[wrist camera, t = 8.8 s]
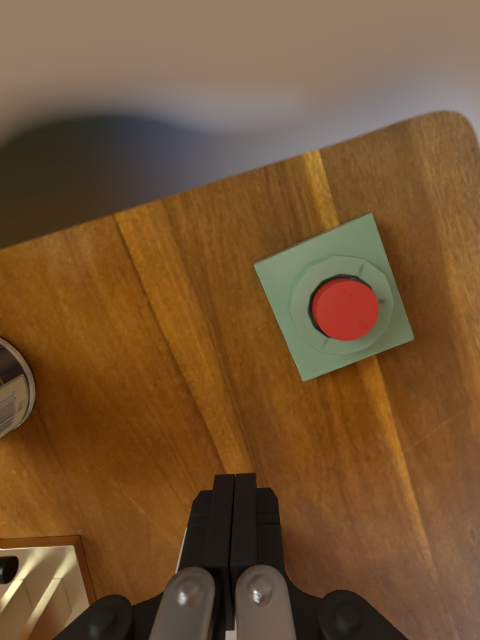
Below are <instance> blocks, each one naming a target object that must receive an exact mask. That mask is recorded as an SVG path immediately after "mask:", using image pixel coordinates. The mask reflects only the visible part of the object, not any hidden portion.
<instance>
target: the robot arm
mask: <svg viewBox="0 0 480 640" xmlns="http://www.w3.org/2000/svg"><path fill="white" fill-rule="evenodd" d="M235 616H236V632H237V640H408V639H407V638H406V637H405V636H404V635H403V634H402V633H401V632H400V631H398V630H397V629H396V628H395V627H394V626H393V625H392V624H391V623H390V622H389V621H388V620H386V619H385V618H384V617H383V616H382V615H381V614H380V613H379V612H378V611H377V610H376V609H375V608H373V607H372V606H371V605H370V604H369V603H368V602H367V601H366V600H365V599H363V598H362V597H361V596H359V595H358V594H356V593H354V592H351V591H348V590H335V591H332V592H330V593H328V594H327V595H326V596H325V597H324V598H323V599H321V598H318V597H315V596H312V595H309V594H307V593H304V592H303V591H301V590H299V589H298V588H297V587H296V586H295V585H294V584H293V583H292V582H291V581H290V579H289V578H288V576H287V574H286V571H285V566H284V556H283V547H282V537H281V527H280V517H279V507H278V498H277V497H276V495H275V493H274V492H273V490H272V489H271V488H257V483H256V473H241V474H236V477H235V474H221V475H215V478H214V485H213V490H206V491H200V493H199V494H198V496H197V497H196V498H195V500H194V501H193V504H192V508H191V513H190V517H189V522H188V528H187V531H186V535H185V540H184V544H183V549H182V553H181V557H180V562H179V566H178V570H177V573H176V574H175V575H174V576H173V577H172V578H171V579H170V580H169V582H168V583H167V585H166V587H165V590H164V591H163V592H162V593H161V594H159V595H157V596H156V597H154V598H151V599H149V600H146V601H144V602H141V603H138V604H136V605H133V606H131V604H130V602H129V600H128V599H127V598H125V597H124V596H121V595H108V596H105V597H103V598H101V599H99V600H97V601H96V602H94V603H93V604H92V605H90V606H89V607H88V608H87V609H86V610H85V611H84V612H83V613H81V614H80V615H79V616H78V617H77V618H76V619H75V620H74V621H72V622H71V623H70V624H69V625H68V626H67V627H66V628H64V629H63V630H62V631H61V632H60V633H59V634H58V635H57V636H55V637H54V638H53V639H52V640H225V637H226V631H235Z"/></svg>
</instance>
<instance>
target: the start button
mask: <svg viewBox="0 0 480 640" xmlns="http://www.w3.org/2000/svg"><path fill="white" fill-rule="evenodd" d="M378 312H379V306H378V301H377V298H376V296H375V294H374V293H373V291H372V290H371V289H370V288H369V287H367V286H366V285H364V284H362V283H360V282H357V281H355V280H352V279H348V278H337V279H333V280H331V281H329V282H327V283H325V284H324V285H323V286H321V287H320V289H319V290H318V291H317V293H316V294H315V296H314V299H313V303H312V313H313V317H314V319H315V321H316V323H317V324H318V325H319V327H320V328H321V329H322V330H323V331H324V333H326V334H327V335H328V336H330V337H331V338H333V339H336V340H340V341H351V340H355V339H358V338H360V337H362V336H364V335H365V334H366V333H368V332H369V331H370V330H371V328H372V327H373V326H374V324H375V322H376V320H377V317H378Z"/></svg>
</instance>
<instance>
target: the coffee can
mask: <svg viewBox="0 0 480 640" xmlns="http://www.w3.org/2000/svg"><path fill="white" fill-rule="evenodd" d="M34 401H35V383H34V378H33V375H32V372H31V370H30V368H29V366H28V365H27V363H26V361H25V359H24V358H23V357H22V355H21V354H20V353H19V352H18V351H17V350H16V349H15V348H14V347H13V346H12V345H11V344H10V343H8V342H7V341H5V340H4V339H2V338H1V337H0V439H2V438H3V437H4V436H5V435H7V434H8V433H9V432H10V431H12V430H13V429H15V428H17V427H18V426H20V425H21V424H22V423H23V422H24V421H25V420H26V419H27V417H28V416H29V414H30V413H31V411H32V408H33V405H34Z"/></svg>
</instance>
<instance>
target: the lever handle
mask: <svg viewBox="0 0 480 640" xmlns="http://www.w3.org/2000/svg"><path fill="white" fill-rule="evenodd" d="M18 567H19V559H18V557H16V556H0V585H2V584H8V583H10V582H11V581H12V580H13V579H14V577H15V576H16V574H17V571H18Z"/></svg>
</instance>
